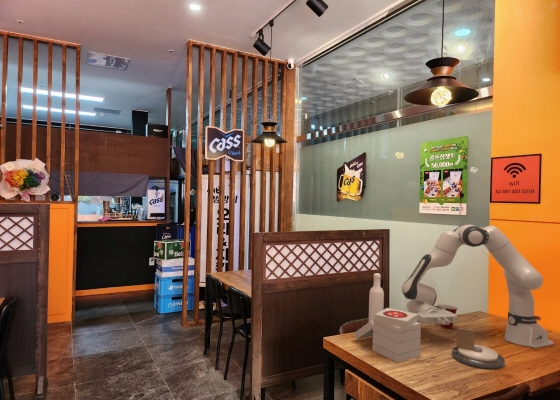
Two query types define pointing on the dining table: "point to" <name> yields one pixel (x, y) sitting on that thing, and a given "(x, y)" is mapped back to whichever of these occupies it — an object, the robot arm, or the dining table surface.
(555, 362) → the dining table surface
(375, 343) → the pizza boxes
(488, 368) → the dial housing
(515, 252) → the robot arm
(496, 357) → the dial
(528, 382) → the dining table surface
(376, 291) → the bottle
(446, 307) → the plastic cup
